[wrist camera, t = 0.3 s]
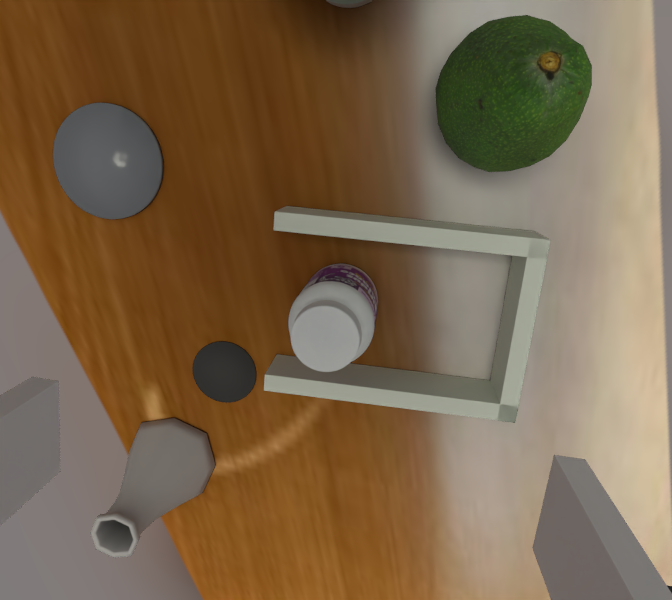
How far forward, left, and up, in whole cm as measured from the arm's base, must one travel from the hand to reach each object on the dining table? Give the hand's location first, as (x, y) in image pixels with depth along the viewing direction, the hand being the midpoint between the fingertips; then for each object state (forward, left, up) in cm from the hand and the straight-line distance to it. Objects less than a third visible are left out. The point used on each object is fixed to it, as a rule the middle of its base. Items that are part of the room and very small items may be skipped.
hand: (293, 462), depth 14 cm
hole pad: (+9, -10, -26) cm, 29 cm away
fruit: (-12, +7, -26) cm, 30 cm away
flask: (+17, -14, -26) cm, 34 cm away
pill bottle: (+2, -1, -26) cm, 26 cm away
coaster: (-6, -19, -26) cm, 32 cm away
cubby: (+2, +2, -26) cm, 26 cm away
